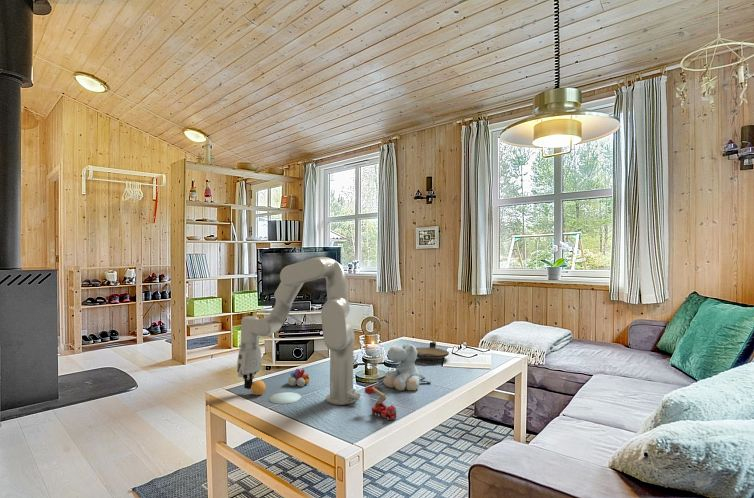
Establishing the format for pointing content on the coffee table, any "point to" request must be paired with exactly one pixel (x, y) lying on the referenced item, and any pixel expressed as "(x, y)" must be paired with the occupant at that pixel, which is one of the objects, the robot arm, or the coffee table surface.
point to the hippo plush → (403, 368)
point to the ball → (258, 387)
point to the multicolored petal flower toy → (298, 378)
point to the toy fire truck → (381, 405)
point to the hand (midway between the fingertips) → (248, 388)
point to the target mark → (285, 398)
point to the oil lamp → (431, 352)
